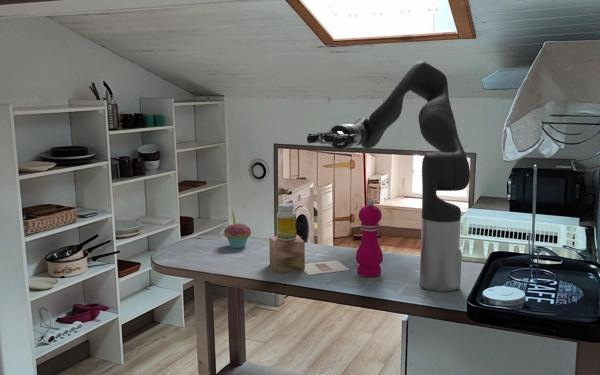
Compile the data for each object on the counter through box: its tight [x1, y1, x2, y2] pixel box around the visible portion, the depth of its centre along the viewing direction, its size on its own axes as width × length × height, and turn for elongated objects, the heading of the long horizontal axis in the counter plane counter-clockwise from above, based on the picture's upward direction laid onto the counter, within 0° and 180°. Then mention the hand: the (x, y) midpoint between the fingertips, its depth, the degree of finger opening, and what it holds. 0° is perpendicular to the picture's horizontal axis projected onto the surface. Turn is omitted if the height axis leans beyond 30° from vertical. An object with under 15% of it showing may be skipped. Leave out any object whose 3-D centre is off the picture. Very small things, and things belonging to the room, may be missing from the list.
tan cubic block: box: [269, 234, 306, 274], centre depth 154 cm, size 8×8×8 cm
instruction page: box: [302, 260, 351, 276], centre depth 153 cm, size 12×9×1 cm
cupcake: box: [223, 209, 252, 249], centre depth 175 cm, size 9×8×12 cm
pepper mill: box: [355, 199, 384, 278], centre depth 147 cm, size 7×7×20 cm
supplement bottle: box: [276, 202, 297, 241], centre depth 152 cm, size 5×5×10 cm
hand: (321, 140), depth 162 cm, fingers open, 8 cm apart
